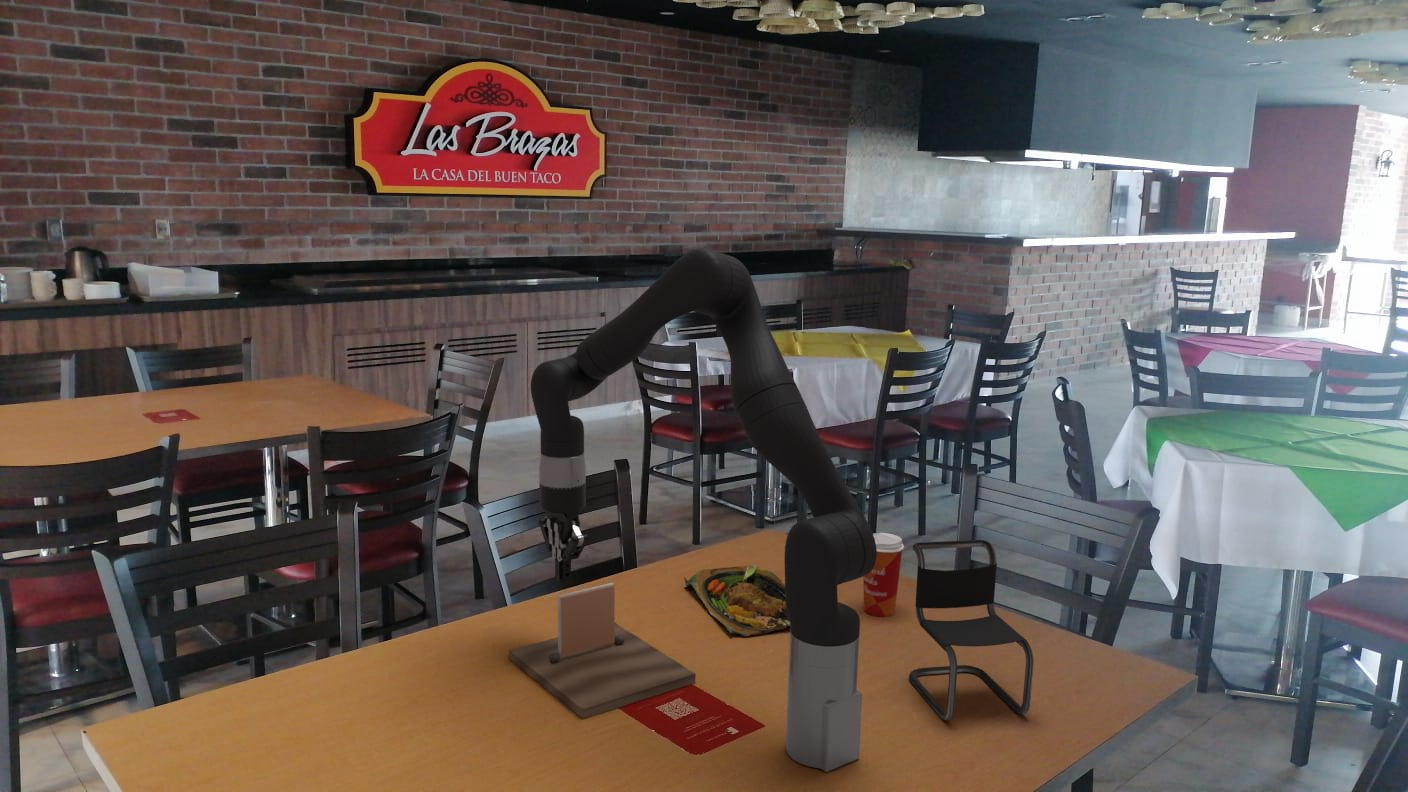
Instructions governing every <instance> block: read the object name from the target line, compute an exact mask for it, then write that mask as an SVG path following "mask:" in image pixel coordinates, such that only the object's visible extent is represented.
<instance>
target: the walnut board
mask: <svg viewBox="0 0 1408 792" xmlns="http://www.w3.org/2000/svg"><path fill="white" fill-rule="evenodd" d="M508 659H509V660H510V661H511V662H512V663H513V664H514V665H516V666H517V667H518V668H520V669H521V670H522V671H523V672H525V673H526V674H527V675H528V676H529V677H531V678H532V679H533V680H534V681H535V682H537V683H538V684H539V685H540V686H542V687H543V688H544V689H546V690H547V691H548V692H549V693H550V694H551V695H553V696H554V697H555V698H557V699H558V700H559V701H560V702H561V703H562V704H564V705H565V706H566V707H568V708H569V709H570V710H572V712H573V713H575V715H577V716H579V717H580V718H581V719H582V720H584V719H587V718H591V717H594V716H596V715H600V714H603V713H607V712H609V711H612V710H616V709H619V708H622V707H625V706H627V705H631V704H633V703H634V704H635V703H637V702H640V701H644V700H646V699H649V698H652V697H656V696H658V695H663V694H665V693H668V692H671V691H674V690H678V689H680V688H683V687H686V686H689V685H690V686H691V685H692V684H696V674H697V673H695V672H693V670H692V671H691V670H690V669H689V668H687V667H686V666H684V665H682V664H681V663H680V662H678V661H676V660H675V659H673V658H671V657H670V656H668V655H666V654H665V653H664V652H662V651H660V650H658V649H657V648H656V647H653V645H651V644H649V643H648V642H646V641H645V640H643V639H641V638H640V637H638V636H637V635H635V634H633V633H632V632H630V631H629V630H627V629H625V628H624V627H622V626H621V625H619V624H618V623H616V622H615V621H614V642H612V643H608V644H604V645H601V646H597V647H593V648H590V649H586V650H583V651H579V652H575V653H572V654H568V655H565V656H561V657H560V656H559V654H558V636H556V637H554V638H550V639H545V640H543V641H538V642H534V643H531V644H526V645H523V646H520V647H514V648H512V649H508Z"/></svg>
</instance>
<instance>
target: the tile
mask: <svg viewBox="0 0 1408 792" xmlns="http://www.w3.org/2000/svg"><path fill="white" fill-rule="evenodd" d="M615 585H616V584H615V583H614V582H610V583H605V584H604V583H603V584H600V585H597V586H593V587H588V588H584V589H580V590H576V591H572V592H571V591H570V592H568V593H567V592H566V593H562V594H558V595H557V633H558V634H557V637H558V654H559V656H560V657H561V656H565V655H568V654H572V653H575V652H579V651H583V650H586V649H590V648H593V647H597V646H601V645H604V644H608V643H612V642H614V622H615V594H616V593H615V590H616V589H615V588H616V587H615Z"/></svg>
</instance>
